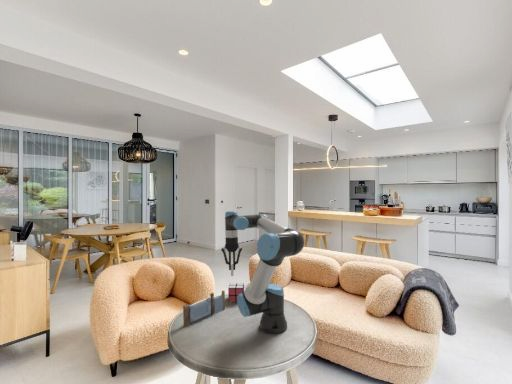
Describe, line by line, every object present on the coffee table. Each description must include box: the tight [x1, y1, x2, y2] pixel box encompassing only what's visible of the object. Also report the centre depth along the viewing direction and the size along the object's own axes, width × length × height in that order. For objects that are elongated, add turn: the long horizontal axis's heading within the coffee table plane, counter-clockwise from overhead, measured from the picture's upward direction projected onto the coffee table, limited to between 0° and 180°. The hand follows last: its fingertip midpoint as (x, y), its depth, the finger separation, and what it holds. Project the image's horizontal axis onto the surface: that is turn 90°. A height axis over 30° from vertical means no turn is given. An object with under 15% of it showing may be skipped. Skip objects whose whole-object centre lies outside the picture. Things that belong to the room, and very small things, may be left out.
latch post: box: [182, 303, 191, 328], centre depth 158 cm, size 3×3×12 cm
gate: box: [188, 297, 211, 323], centre depth 165 cm, size 14×2×10 cm, turn 138°
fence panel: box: [214, 290, 226, 314], centre depth 176 cm, size 2×8×12 cm, turn 138°
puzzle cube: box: [227, 282, 245, 303], centre depth 193 cm, size 10×10×10 cm
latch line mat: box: [190, 314, 213, 326], centre depth 165 cm, size 4×15×1 cm, turn 138°
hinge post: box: [209, 292, 215, 316], centre depth 172 cm, size 2×2×13 cm
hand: (232, 275), depth 170 cm, fingers closed
